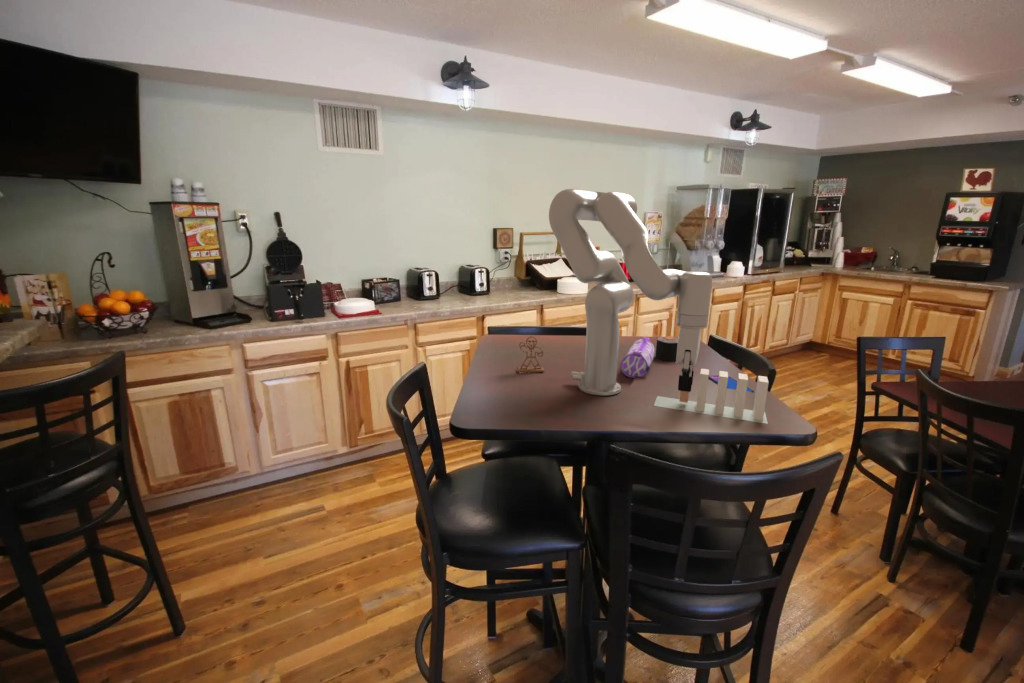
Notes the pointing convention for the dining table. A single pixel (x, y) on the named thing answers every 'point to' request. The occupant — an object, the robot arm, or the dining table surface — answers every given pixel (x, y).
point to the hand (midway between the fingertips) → (685, 386)
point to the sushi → (666, 348)
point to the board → (708, 409)
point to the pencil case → (638, 358)
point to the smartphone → (730, 384)
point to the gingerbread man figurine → (535, 368)
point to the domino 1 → (684, 394)
